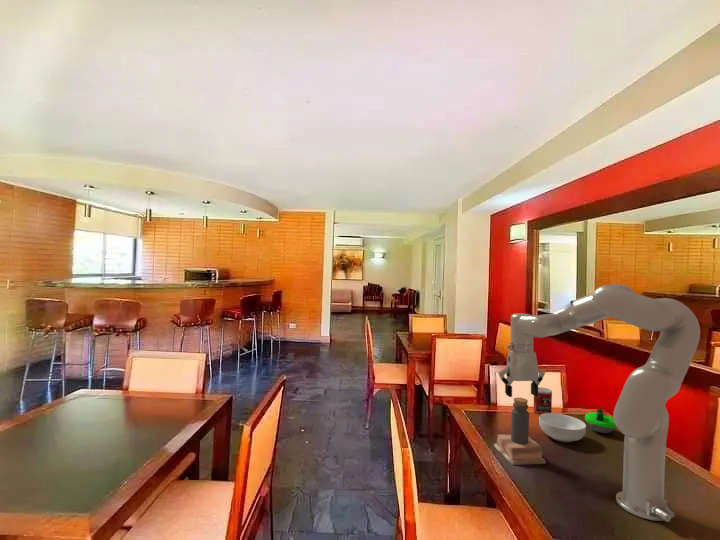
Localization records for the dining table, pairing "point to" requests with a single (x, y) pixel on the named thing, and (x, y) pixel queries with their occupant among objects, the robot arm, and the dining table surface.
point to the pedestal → (519, 450)
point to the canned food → (543, 401)
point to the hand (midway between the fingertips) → (521, 395)
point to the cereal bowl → (562, 427)
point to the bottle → (520, 421)
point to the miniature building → (600, 421)
